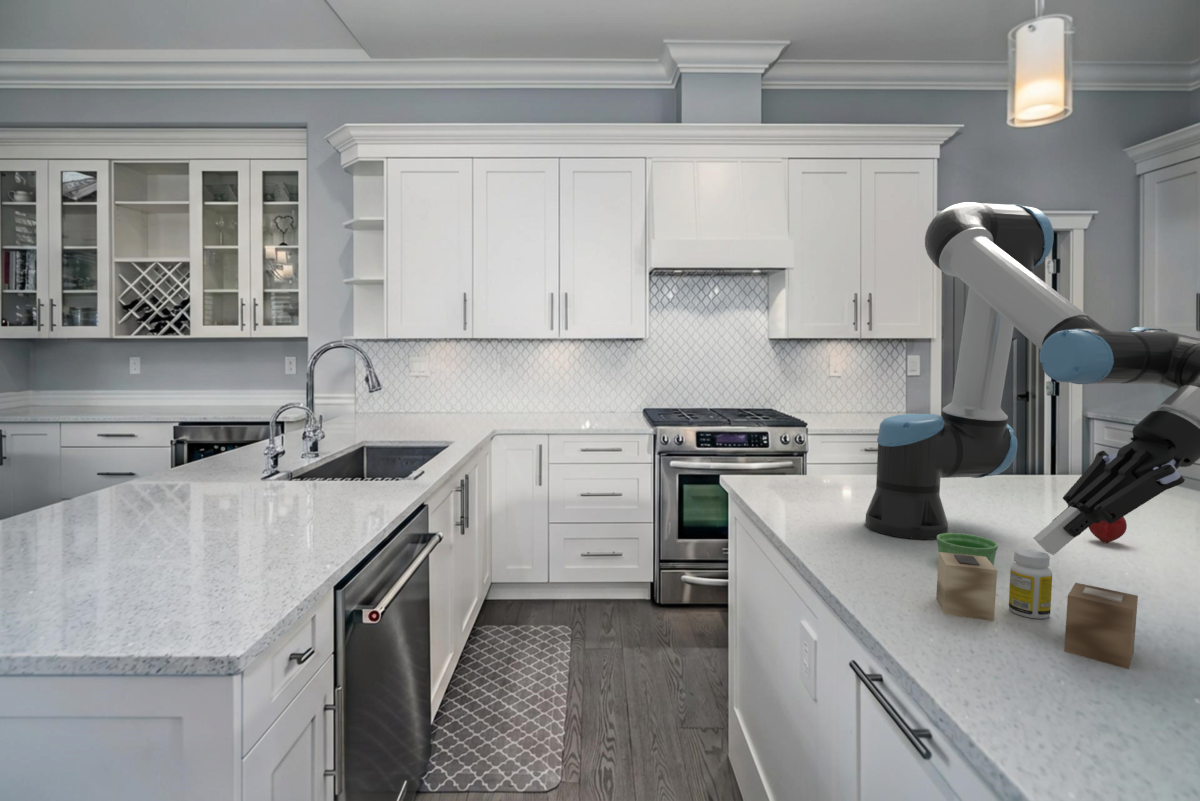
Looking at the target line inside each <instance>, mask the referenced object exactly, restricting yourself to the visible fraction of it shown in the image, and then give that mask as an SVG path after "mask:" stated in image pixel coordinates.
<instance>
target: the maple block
mask: <svg viewBox="0 0 1200 801" xmlns="http://www.w3.org/2000/svg"><path fill="white" fill-rule="evenodd" d="M937 556H938V558H937V562H938V563H937V574H936V575H937V577H936V579H937V580H936V594H935V595H936V596H935V598H936V601H937V603H938V605H939V607H940V610H941V613H942V614H943V615H945V616H946V615H947V616H952V617H960V618H969V619H977V620H983V621H991V622H995V614H996V613H995V611H996V610H995V609H996V608H995V607H996V593H997V578H998V577H997V575H998V569H997V568H996V567H995V566H993V565H992V563H991V562H990V561H989V560H988V559H987V557H983V556H974V555H964V554H954V553H945V552H939V555H938V554H937Z"/></svg>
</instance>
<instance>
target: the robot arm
mask: <svg viewBox="0 0 1200 801" xmlns="http://www.w3.org/2000/svg"><path fill="white" fill-rule="evenodd" d="M1054 237H1055V236H1054V228H1053V225H1052V223H1051V220H1050V219H1049V218H1048V217H1047V216H1046V214H1045V213H1044V212H1043V211H1042V210H1040V209H1038V208H1036V207H1032V206H1024V205H1021V204H1005V203H1004V204H1002V203H985V202H984V203H980V202H972V201H971V202H969V201H965V202H959V203H956V204H953V205H950V206H948V207H946V208H945V209H943V210H942V211H939V213H938V214H936V215H935V217H934V218H933V219H931V222H929V225H928V227H927V229H926V232H925V236H924V248H925V251H926V254H927V256H928V258H929V259H930V260H931V261H932V264H934V265H935V266H936V267H937V268H938V269H939V270H940V271H941V272H942V273H944V274H945V275H947V276H949V277H957V278H959V280H960V281H962V282H963V283H964V284H965V285H966V286H967V287H968V293H967V298H966V305H965V306H966V307H965V312H964V320H963V325H962V326H963V327H962V332H961V339H960V345H959V354H958V359H957V366H956V367H957V368H956V373H955V379H954V386H953V393H952V398H951V399H952V400H951V402H950V403H949V404H947V405H945V406H944V407H942V410H941V415H940V414H935V413H906V414H905V413H904V414H898V415H897V414H896V415H893V416H888V417H886V418H884V419H883V420H882V421H881V422H880V424H879V429H878V434H877V462H876V485H875V491H874V494H873V496H872V498H871V501H870V503H869V506H868V508H867V510H866V513H865V521H864V522H865V524H864V525H865V526H866V528H868V529H870V530H871V531H874V532H877V533H880V534H882V535H883V534H884V535H887V536H891V537H897V538H903V539H904V538H905V539H912V540H913V539H914V540H937V535H939V534H943V533H949V531H948V530H949V522H948V520H947V516H946V515H947V514H946V512H945V508H944V506H943V502H942V498H941V494H940V493H941V492H940V491H941V490H940V489H941V479H947V478H974V479H977V478H979V479H981V478H985V477H992V476H997V475H1000V474H1001V473H1003V472H1004V471H1006V470H1007V469H1008V468H1009V467H1010V466H1011V465H1012V463H1013V462H1014V460H1015V458H1016V456H1017V452H1018V439H1017V437H1016V436H1015V431H1014V429H1013V428H1012V427H1011V425H1009V423H1008V418H1009V416H1008V415H1007V413H1005V411H1004V410H1003V409H1002V405H1001V404H1002V400H1003V399H1002V398H1003V395H1004V394H1003V393H1004V388H1005V382H1006V377H1007V376H1006V375H1007V371H1008V365H1009V359H1010V353H1011V352H1010V351H1011V346H1012V339H1013V334H1014V328H1015V329H1016V330H1017V331H1019V333H1020V334H1022V335H1023V336H1024V337H1025V338H1027V339H1028V340H1029V341H1030V342H1031V343H1032V344H1033V345H1035V346H1036V347H1037V348H1038V349H1039V350H1040V352H1039V363H1041V366H1042V370H1043V372H1044V374H1046V376H1048V377H1049V379H1052V380H1055V381H1056V382H1060V383H1071V384H1074V385H1090V384H1095V385H1096V384H1121V385H1122V384H1128V385H1129V384H1138V385H1139V384H1140V385H1141V384H1142V385H1144V384H1145V385H1146V384H1153V385H1154V384H1155V385H1160V386H1165V387H1168V388H1172V389H1175V391H1174V392H1173V393H1171V394H1170V395H1169V396H1168V397H1167V398H1166V399H1164V400H1163V401H1162V402H1161V403H1160V404H1159V405H1157V406H1156V410H1154V411H1153V410H1152V411H1151V412H1150V413H1148V414H1147V415H1146V416H1145V417H1144V418H1143V419H1141V420H1140V421H1139V422H1138V423H1137V424H1136V425H1134V427H1133V428H1132V431H1131V432H1132V441H1131V442H1129V443H1127V444H1125V445H1123V446H1121V447H1119V449H1118V451H1117V452H1113V453H1110V454H1108V453H1107V452H1106V451H1105V450H1101V451H1098V452H1097V453H1096V454H1095V457H1094V459H1093V462H1092V463H1091V464H1090V465H1089V467H1087V469H1086V470H1085V471H1084V472H1083V474H1081V475H1080V477H1079V478H1078V479H1077V480H1076V482H1075V483H1074V484H1072V486H1071V487H1070V488H1069V490H1067V492H1066V493H1065V494H1064V495H1063V497H1062V499H1063V501H1064V502H1065V503H1066V504H1067V507H1066V509H1064V510H1063V511H1062V512H1061V513H1060V514H1058V515H1057V516H1056V517H1055V518H1054V519H1053V520H1052V521H1051V522H1050V523H1049V524H1048V525H1046V526H1045V527H1044V528H1043V529H1042V530H1040V532H1038V533H1037V534H1036V535H1035V536H1034V537H1033V539H1034V541H1035V542H1036V543H1037V544H1038V545H1039V546H1040V547H1041V548H1042V549H1043V550H1044V552H1045V553H1047V554H1050V555H1052V556H1055V555H1056V554H1057V553H1059V551H1061V550H1062V549H1063V548H1064V547H1065V546H1067V544H1069V543H1070V542H1071V541H1073V539H1075V538H1077V537H1078V536H1080V535H1081V534H1082V533H1084V532H1085V531H1086V530H1087V529H1089V526H1090V525H1092V524H1093V523H1099V522H1101V521H1106V522H1107V523H1108V524H1111V523H1114V522H1115V521H1117V520H1118V519H1120V518H1122V517H1125V516H1127V515H1128V514H1130V513H1132V512H1133V511H1135V510H1136V509H1138V508H1139V507H1142V505H1144V504H1145V503H1148V502H1149V501H1150V500H1153V499H1155V497H1157V496H1158V495H1160V494H1162V493H1163V492H1165V491H1167V490H1170V489H1173V488H1174V487H1177V486H1179V485H1182V484H1183V483H1185V480H1186V479H1185V478H1184V477H1183V476H1182V475H1181V473H1179V472H1178V468H1180V467H1181V468H1187V467H1191V466H1192V465H1194V464H1195V463H1196V462H1197V461H1198V460H1200V338H1199V337H1194V336H1191V335H1186V334H1181V333H1178V332H1177V333H1176V332H1171V331H1168V330H1167V329H1164V328H1163V329H1162V328H1152V327H1146V326H1135V327H1132V328H1130V329H1128V330H1127V331H1126V330H1125V331H1124V330H1123V331H1121V330H1119V331H1118V330H1109V329H1107V328H1105V327H1104V326H1102V325H1101V324H1100V323H1099V322H1097V321H1096V320H1094V319H1093V318H1091V317H1090V316H1089V315H1088V314H1086V313H1085V312H1084V311H1082V310H1081V309H1080V308H1079V307H1078V306H1076V305H1075V304H1074V303H1072V302H1071V301H1070V300H1068V299H1067V298H1065V297H1064V296H1063V295H1061V293H1059V292H1057V291H1056V290H1055V289H1054V288H1052V287H1051V286H1050V285H1049V284H1047V283H1046V282H1045V281H1044V280H1042V278H1040V277H1038V276H1037V275H1035V273H1033V272H1034V271H1033V270H1034V268H1035V267H1038V266H1039V265H1041V264H1043V263H1044V261H1045V258H1047V257H1049V255H1050V254H1051V251H1052V249H1053V245H1054V241H1055V240H1054ZM1111 512H1112V513H1111Z"/></svg>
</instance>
